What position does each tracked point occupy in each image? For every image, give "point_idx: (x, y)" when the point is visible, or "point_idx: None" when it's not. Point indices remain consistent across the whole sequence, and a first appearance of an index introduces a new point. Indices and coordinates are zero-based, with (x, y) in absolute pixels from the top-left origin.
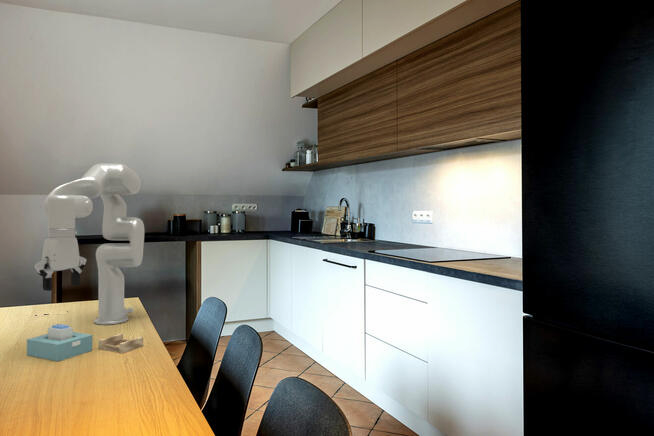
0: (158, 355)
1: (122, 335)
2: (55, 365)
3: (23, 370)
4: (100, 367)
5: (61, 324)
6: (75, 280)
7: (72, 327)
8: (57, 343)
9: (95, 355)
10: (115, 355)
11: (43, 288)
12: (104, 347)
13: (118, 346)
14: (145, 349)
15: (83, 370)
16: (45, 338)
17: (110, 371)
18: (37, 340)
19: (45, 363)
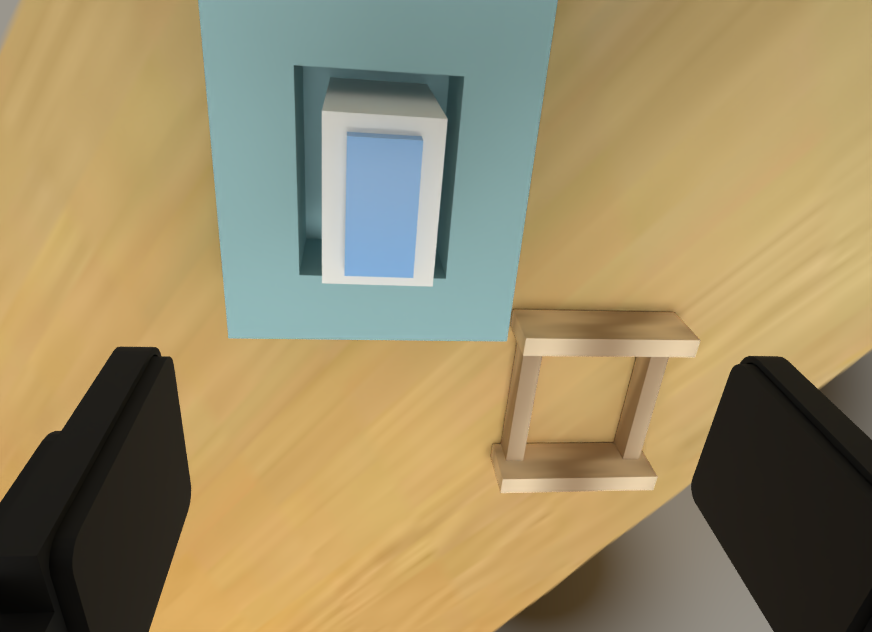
0: (519, 587)
1: (687, 353)
2: (194, 330)
3: (35, 249)
4: (287, 519)
5: (418, 184)
6: (751, 519)
7: (431, 284)
8: (246, 310)
9: (417, 374)
10: (455, 453)
11: (114, 362)
12: (520, 350)
13: (525, 435)
14: (583, 497)
15: (220, 492)
16: (292, 107)
17: (270, 579)
18: (220, 97)
19: (184, 252)
